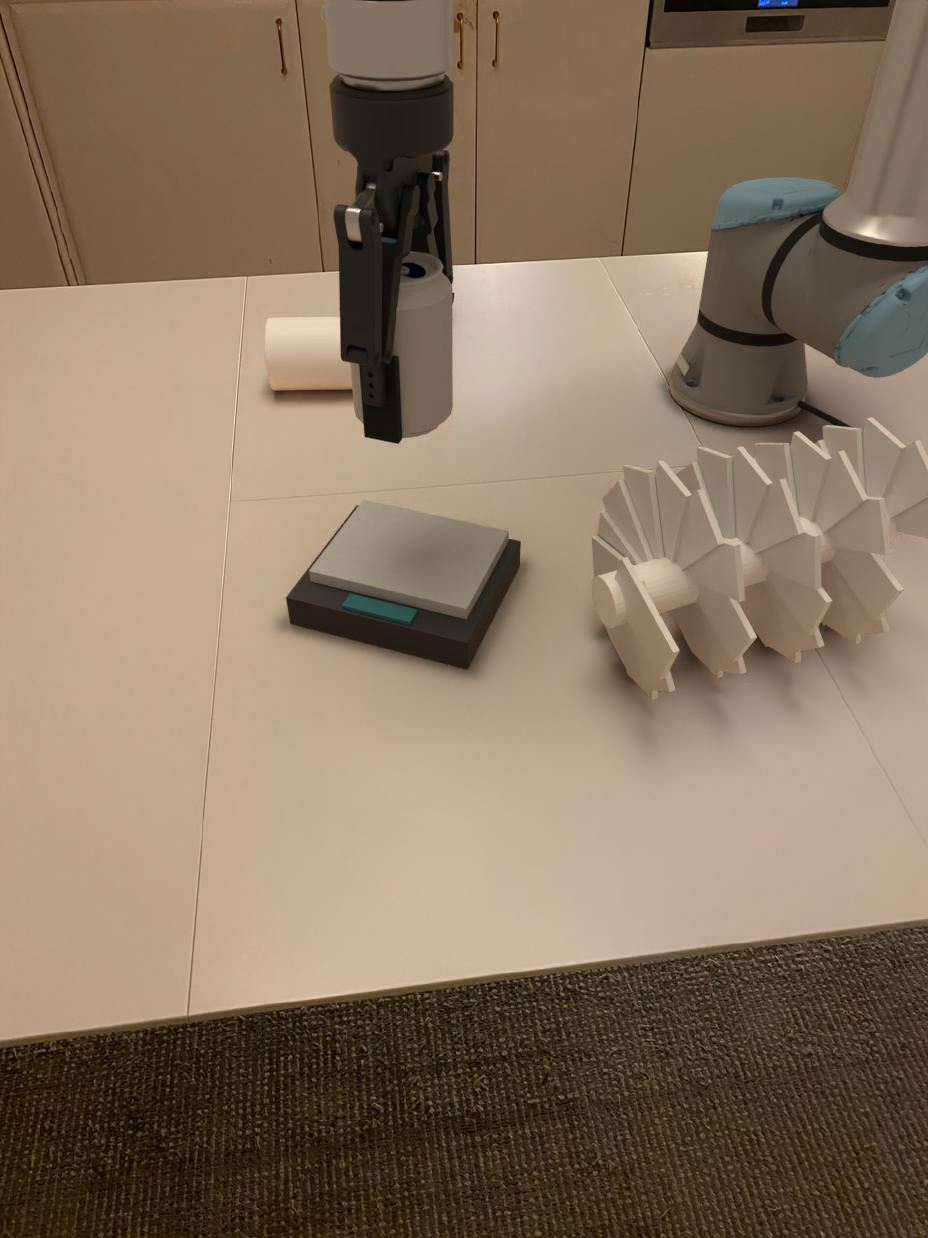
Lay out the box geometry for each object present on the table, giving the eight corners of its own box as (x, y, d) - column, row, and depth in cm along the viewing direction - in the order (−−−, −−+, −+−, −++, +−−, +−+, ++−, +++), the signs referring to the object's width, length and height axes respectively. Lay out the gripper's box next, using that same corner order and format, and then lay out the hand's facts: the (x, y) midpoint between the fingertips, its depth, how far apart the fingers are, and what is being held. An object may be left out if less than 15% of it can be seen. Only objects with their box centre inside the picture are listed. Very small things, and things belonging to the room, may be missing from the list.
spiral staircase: (572, 673, 82) (818, 595, 88) (676, 751, 66) (969, 648, 71) (536, 465, 76) (801, 396, 82) (640, 494, 60) (962, 405, 66)
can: (467, 432, 71) (468, 275, 63) (371, 451, 69) (360, 291, 61) (432, 387, 77) (430, 236, 69) (343, 403, 75) (329, 250, 67)
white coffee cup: (358, 401, 108) (353, 335, 103) (270, 403, 108) (261, 337, 103) (363, 353, 117) (359, 290, 112) (282, 354, 117) (273, 291, 112)
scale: (519, 567, 86) (521, 529, 83) (467, 670, 77) (468, 631, 74) (358, 530, 90) (355, 494, 87) (289, 624, 81) (283, 586, 78)
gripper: (399, 35, 65) (410, 346, 81) (252, 110, 51) (299, 471, 66) (503, 44, 63) (494, 361, 79) (380, 124, 49) (398, 492, 65)
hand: (404, 411), depth 73 cm, fingers closed on can, 7 cm apart
